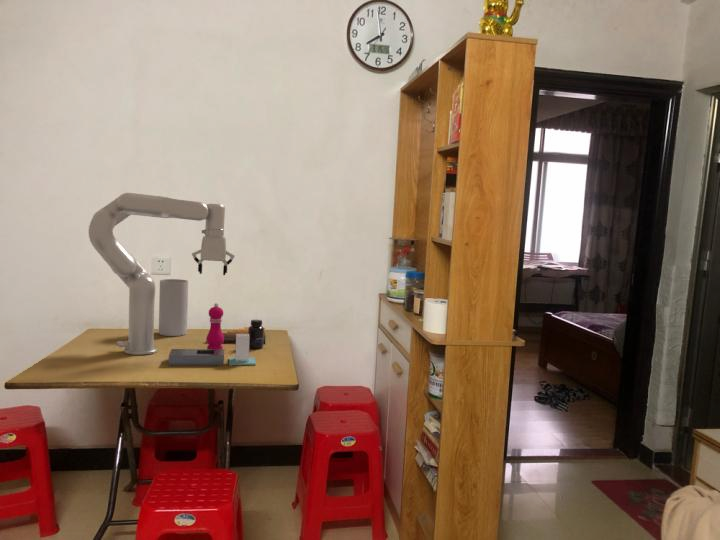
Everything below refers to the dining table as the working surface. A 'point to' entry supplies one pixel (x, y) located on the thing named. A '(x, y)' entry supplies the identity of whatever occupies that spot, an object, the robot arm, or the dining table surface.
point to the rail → (196, 357)
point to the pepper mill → (215, 328)
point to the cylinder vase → (173, 307)
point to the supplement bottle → (256, 334)
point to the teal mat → (232, 362)
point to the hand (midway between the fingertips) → (212, 274)
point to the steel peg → (242, 348)
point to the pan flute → (231, 336)
